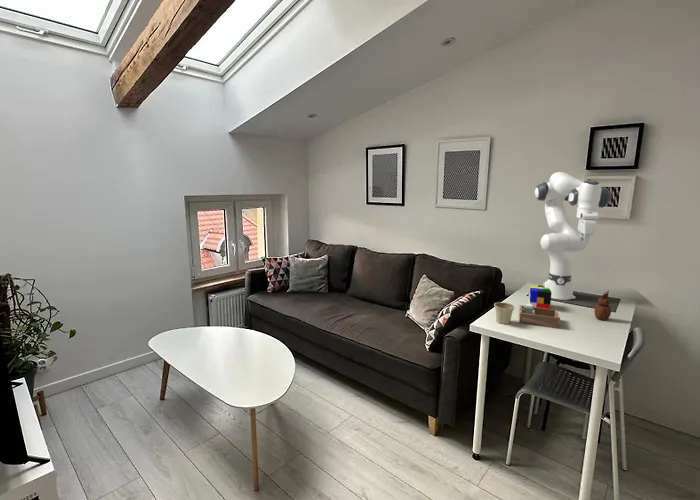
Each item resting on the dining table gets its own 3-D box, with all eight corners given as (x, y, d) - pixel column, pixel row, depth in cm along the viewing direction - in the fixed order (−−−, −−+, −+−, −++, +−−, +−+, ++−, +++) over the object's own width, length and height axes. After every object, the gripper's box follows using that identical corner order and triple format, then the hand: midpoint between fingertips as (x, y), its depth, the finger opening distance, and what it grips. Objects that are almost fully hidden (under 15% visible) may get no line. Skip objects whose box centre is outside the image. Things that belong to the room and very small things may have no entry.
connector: (523, 316, 185) (524, 303, 184) (531, 317, 183) (533, 304, 182) (522, 318, 181) (524, 305, 180) (531, 320, 180) (533, 306, 178)
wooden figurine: (605, 317, 186) (609, 289, 184) (612, 321, 181) (616, 292, 178) (591, 316, 187) (594, 288, 184) (597, 320, 181) (601, 292, 179)
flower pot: (504, 327, 173) (505, 309, 171) (488, 320, 181) (489, 304, 180) (517, 323, 177) (519, 306, 176) (501, 317, 185) (503, 301, 184)
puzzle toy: (529, 308, 200) (531, 290, 198) (528, 302, 209) (529, 286, 207) (549, 310, 196) (551, 292, 195) (547, 304, 206) (549, 287, 204)
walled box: (518, 314, 190) (519, 305, 189) (555, 319, 183) (556, 309, 182) (519, 322, 178) (520, 313, 177) (558, 328, 171) (560, 318, 170)
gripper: (576, 212, 188) (573, 239, 190) (583, 215, 169) (580, 244, 172) (590, 213, 185) (587, 239, 188) (599, 216, 167) (595, 245, 169)
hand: (583, 242), depth 180 cm, fingers open, 8 cm apart
